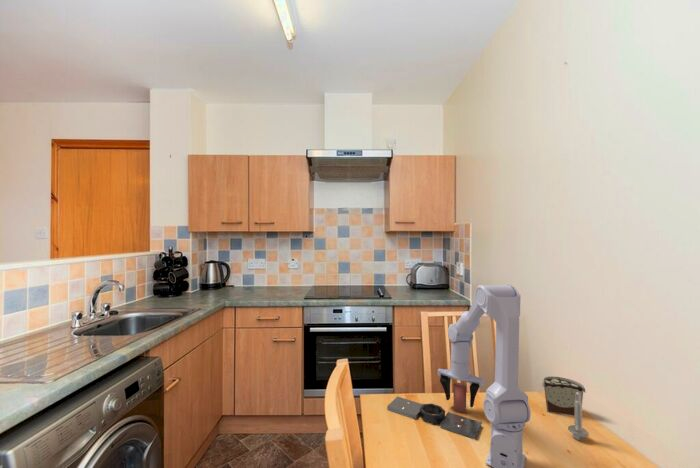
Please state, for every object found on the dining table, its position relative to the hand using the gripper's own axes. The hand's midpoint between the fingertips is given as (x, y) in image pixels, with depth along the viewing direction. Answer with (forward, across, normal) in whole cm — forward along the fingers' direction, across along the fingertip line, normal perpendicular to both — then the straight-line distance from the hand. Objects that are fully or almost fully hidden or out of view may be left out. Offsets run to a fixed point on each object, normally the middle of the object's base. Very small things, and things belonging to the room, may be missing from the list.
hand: (459, 402), depth 103 cm
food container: (+3, -28, -20) cm, 35 cm away
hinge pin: (+2, 0, 0) cm, 2 cm away
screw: (+3, -32, -4) cm, 32 cm away
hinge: (+2, +6, +10) cm, 12 cm away
